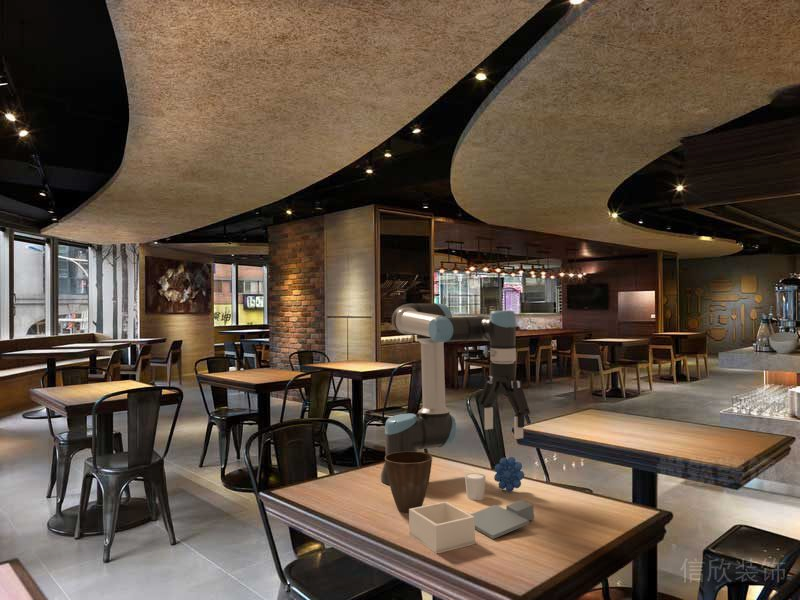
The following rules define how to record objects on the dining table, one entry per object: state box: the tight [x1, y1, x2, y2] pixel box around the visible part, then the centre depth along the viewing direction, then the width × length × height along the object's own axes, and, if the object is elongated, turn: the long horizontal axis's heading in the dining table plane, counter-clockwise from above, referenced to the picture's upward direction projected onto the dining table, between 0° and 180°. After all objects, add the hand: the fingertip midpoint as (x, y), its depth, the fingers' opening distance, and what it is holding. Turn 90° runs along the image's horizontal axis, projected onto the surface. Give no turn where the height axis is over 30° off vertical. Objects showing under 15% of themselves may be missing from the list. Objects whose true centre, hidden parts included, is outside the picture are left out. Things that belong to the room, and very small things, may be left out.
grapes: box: [493, 456, 525, 493], centre depth 187 cm, size 12×7×12 cm, turn 47°
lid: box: [469, 499, 535, 540], centre depth 157 cm, size 15×19×4 cm
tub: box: [408, 501, 476, 555], centre depth 147 cm, size 14×12×7 cm
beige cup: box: [464, 472, 486, 501], centre depth 181 cm, size 7×7×7 cm
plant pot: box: [384, 451, 433, 513], centre depth 171 cm, size 15×15×16 cm
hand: (503, 433), depth 163 cm, fingers open, 13 cm apart
